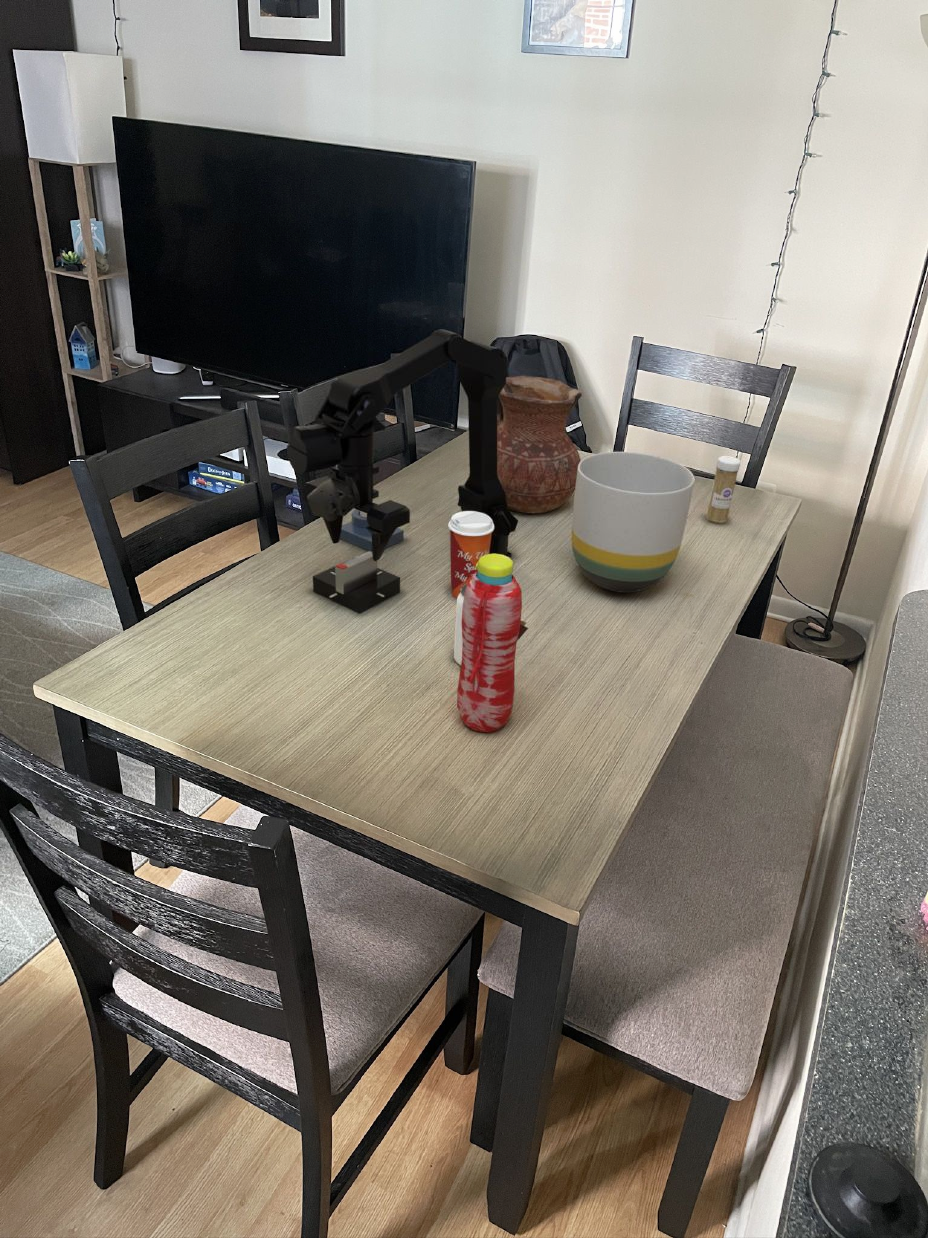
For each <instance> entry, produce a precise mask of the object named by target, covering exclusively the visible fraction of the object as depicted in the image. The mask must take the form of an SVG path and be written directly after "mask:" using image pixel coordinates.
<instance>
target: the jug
mask: <svg viewBox="0 0 928 1238" xmlns="http://www.w3.org/2000/svg"><path fill="white" fill-rule="evenodd" d="M582 396H583V393H582V391H581V390H580V389H576V388H573V387H570V386H569V385H567V384H566V383H564V382H563V381H560V380H556V379H553V378H546V377H542V376H529V375H516V376H507V378H506V384H505V386H504V388H503V389H502V391H501V393H500V394H499V396H498V398H497V474H498V478H499V480H500V482H501V484H502V486H503V488H504V490H505V493H506V499H507V506H508V510H509V511H510V510H511V511H514V512H517V513H518V512H519V513H525V514H544V513H548V512H551V511H554V510H556V509H558V508H560V507H561V506H562V505H563V504H565V503H566V502H568V500H569V499H570V498H571V497H572V495H574V494H575V487H576V478H577V470H578V465H579V463H580V461H581V460H582V459H581V456H580V453H579V451H578V448H577V447H576V446H575V444H574V443H573V441H572V440H571V438H570V437H569V435H568V433H567V431H566V428H567V421H568V419H569V416H570V414H571V413H572V411H573V409H574V407H575V406H576V405H577V403H578V401H579V400H580V399H581V398H582Z"/></svg>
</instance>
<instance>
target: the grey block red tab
mask: <svg viewBox="0 0 928 1238" xmlns="http://www.w3.org/2000/svg"><path fill="white" fill-rule="evenodd" d="M352 558H353V559H352ZM352 558H350V559H351V560H350V559H348V560H349V561H347V560H346V561H347V562H345V561H343V562H344V563H343V562H339V563H338V564H336V565H337V566H336V565H335V577H336V591H337V592H340V593H342V594H345V593H347V592H349V591H351V590H353V589H356V588H358V587H360V586H362V585H364V584H366V583H368V582H370V581H372V580H374V579H376V578H377V568H378V560H377V561H374V560H373V555H372V552H370V551H366V552H364V553H362V554H360V555H357V556H355V557H352Z"/></svg>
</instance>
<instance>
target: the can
mask: <svg viewBox="0 0 928 1238" xmlns="http://www.w3.org/2000/svg"><path fill="white" fill-rule="evenodd" d="M467 585H468V583H467V584H465V585H463V586H462V587H461V589H460V594H459V596H458V598H456V608H455V609H456V610H455V628H454V646H453V648H454V649H453V658H454V661H455V662H456V663H457V664H458V665H459V667H461V662H462V645H463V642H462V608H463V600H464V595H465V590H466V587H467Z"/></svg>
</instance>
